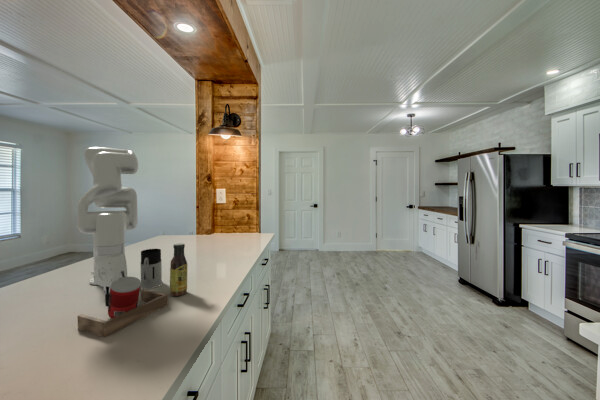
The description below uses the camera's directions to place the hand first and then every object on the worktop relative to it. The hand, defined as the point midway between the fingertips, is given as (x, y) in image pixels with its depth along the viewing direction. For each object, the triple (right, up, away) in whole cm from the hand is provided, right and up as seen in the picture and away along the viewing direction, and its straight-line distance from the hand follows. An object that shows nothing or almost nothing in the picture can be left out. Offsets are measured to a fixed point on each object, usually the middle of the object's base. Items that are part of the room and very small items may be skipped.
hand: (112, 304), depth 84 cm
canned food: (+4, -2, -1) cm, 5 cm away
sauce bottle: (+14, -3, +17) cm, 22 cm away
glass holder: (-2, -2, +24) cm, 24 cm away
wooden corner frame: (+5, -3, -1) cm, 6 cm away
